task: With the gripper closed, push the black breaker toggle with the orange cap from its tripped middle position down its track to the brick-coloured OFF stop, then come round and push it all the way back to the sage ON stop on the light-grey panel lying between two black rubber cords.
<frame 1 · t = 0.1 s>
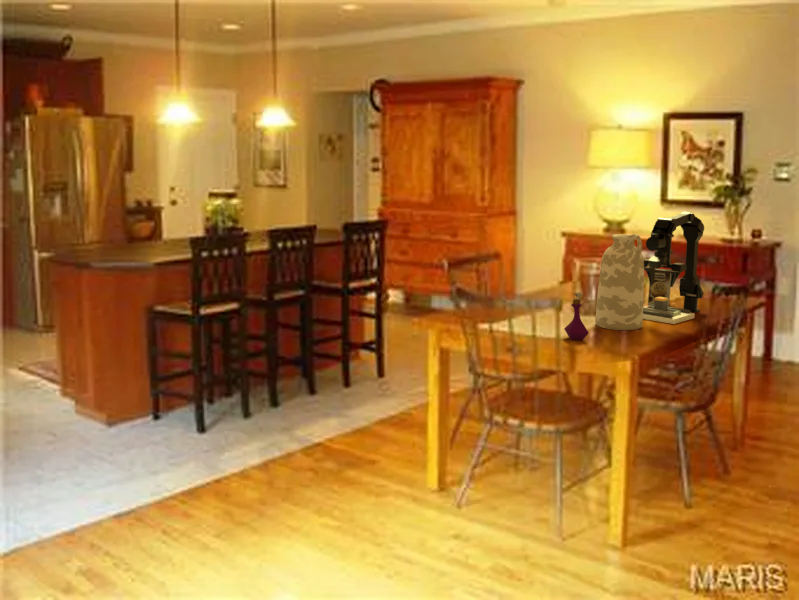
hand: (661, 285, 382), 14 cm above the table, fingers open, 9 cm apart
perfume bottle: (575, 339, 347), on the table
panel: (660, 316, 390), on the table
vase: (619, 326, 371), on the table
coffee box: (658, 304, 419), on the table
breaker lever: (660, 304, 389), point 5 cm above the table, slide at 4.0 cm
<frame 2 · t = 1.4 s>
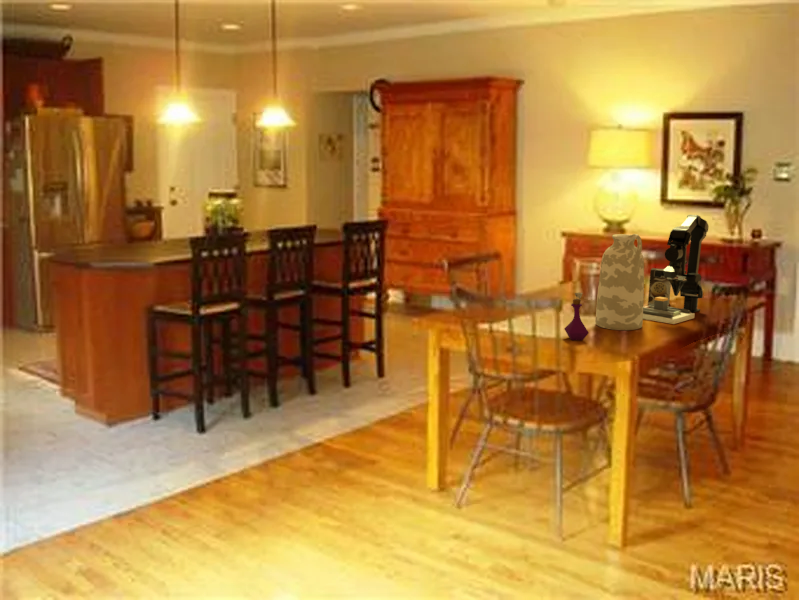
hand: (675, 295, 384), 10 cm above the table, fingers closed
nothing on the table moved.
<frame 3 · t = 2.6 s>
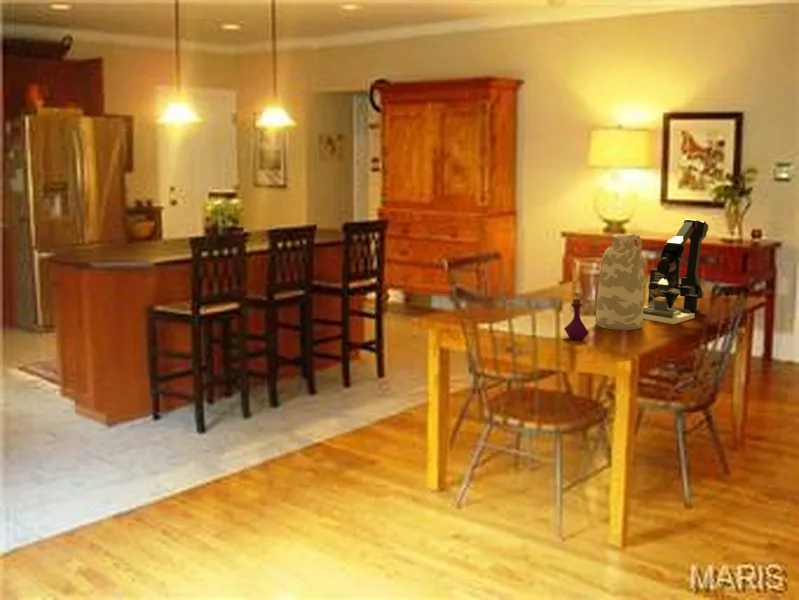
hand: (670, 308, 386), 4 cm above the table, fingers closed
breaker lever: (660, 304, 389), point 5 cm above the table, slide at 4.0 cm, touching gripper
everything else where it was.
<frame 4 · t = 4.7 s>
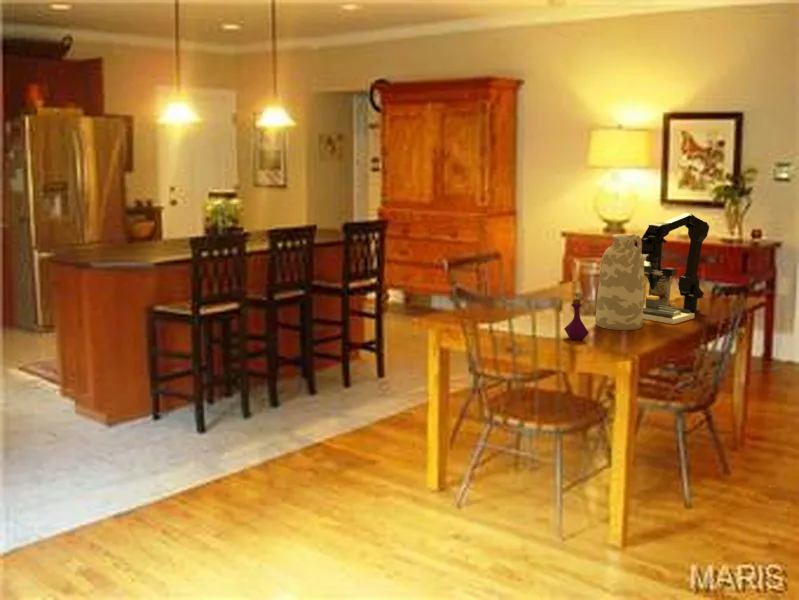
hand: (652, 289, 391), 11 cm above the table, fingers closed
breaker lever: (652, 303, 392), point 5 cm above the table, slide at 0.0 cm
everything else where it was.
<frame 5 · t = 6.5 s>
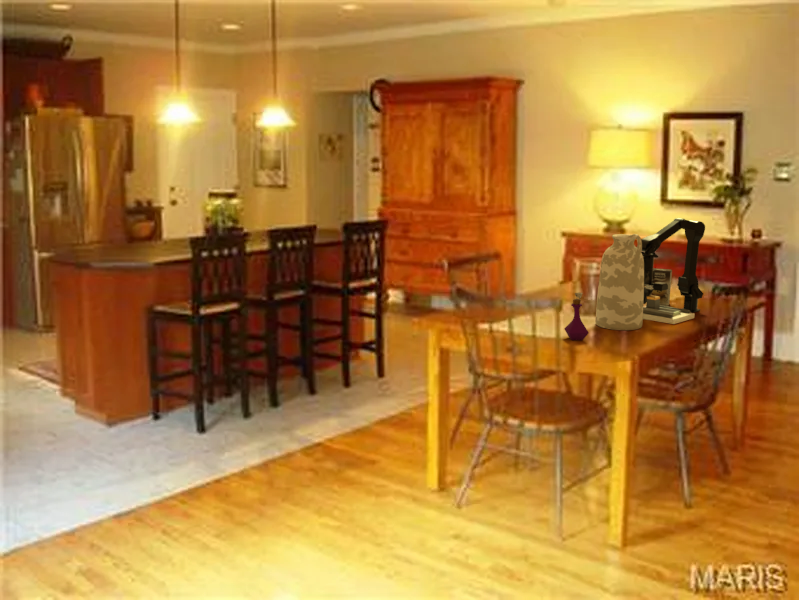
hand: (643, 303, 395), 4 cm above the table, fingers closed
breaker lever: (652, 303, 392), point 5 cm above the table, slide at 0.3 cm, touching gripper
everything else where it was.
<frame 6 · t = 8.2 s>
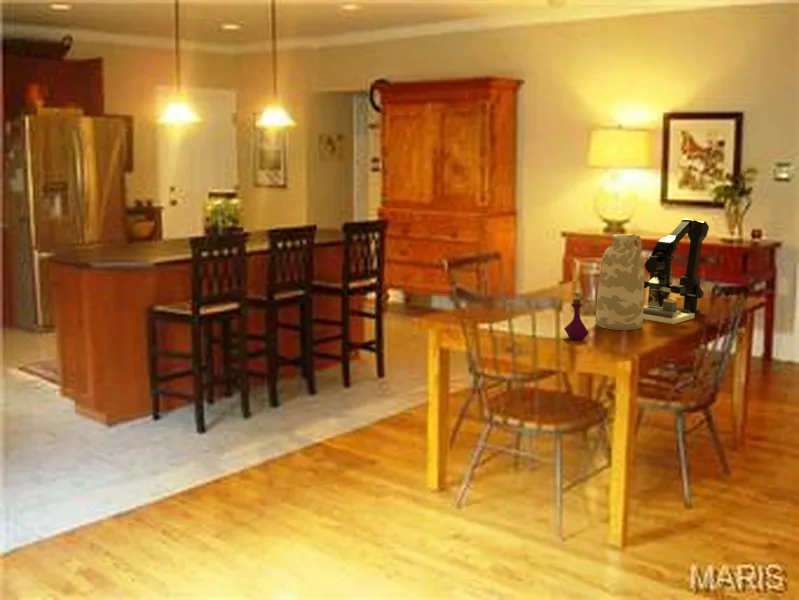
hand: (660, 306, 389), 4 cm above the table, fingers closed
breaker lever: (669, 306, 386), point 5 cm above the table, slide at 8.1 cm, touching gripper
everything else where it was.
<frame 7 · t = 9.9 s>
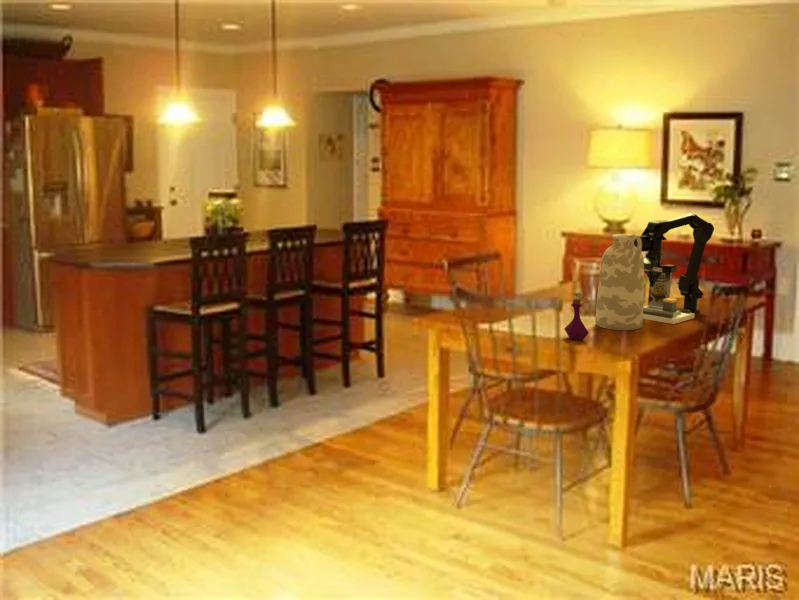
hand: (652, 286, 395), 12 cm above the table, fingers closed
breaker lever: (669, 306, 386), point 5 cm above the table, slide at 8.0 cm
everything else where it was.
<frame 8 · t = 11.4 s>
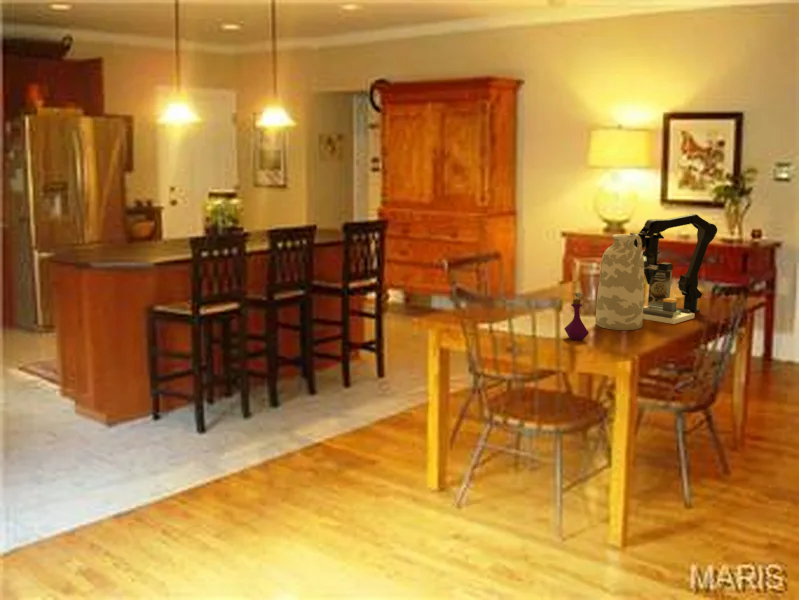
hand: (649, 284, 400), 12 cm above the table, fingers closed
nothing on the table moved.
at the end: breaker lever slide at 8.0 cm; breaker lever 0.2 cm from the target spot, resting on panel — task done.
